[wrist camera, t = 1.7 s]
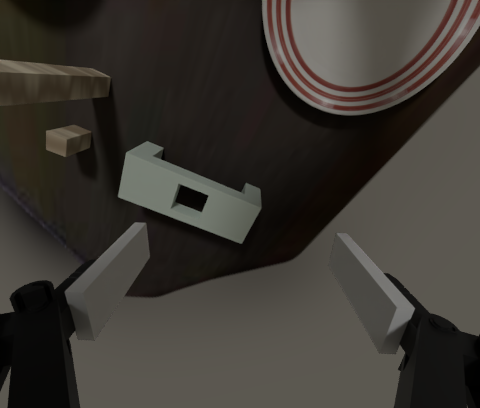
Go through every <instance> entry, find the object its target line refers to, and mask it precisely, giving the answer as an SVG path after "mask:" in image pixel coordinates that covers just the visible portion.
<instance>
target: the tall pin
mask: <svg viewBox="0 0 480 408" xmlns="http://www.w3.org/2000/svg"><path fill="white" fill-rule="evenodd" d="M110 81H111V77H109V76H107V75H105V74H103V73H101V72H98V71H96V70H94V69H92V68H82V67H71V66H61V65H50V64H40V63H29V62H19V61H9V60H0V106H6V105H17V104H29V103H40V102H52V101H64V100H75V99H87V98H98V97H108V96H109V89H110Z"/></svg>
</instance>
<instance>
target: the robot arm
mask: <svg viewBox="0 0 480 408" xmlns="http://www.w3.org/2000/svg"><path fill="white" fill-rule="evenodd" d="M149 258H150V255H149V245H148V235H147V226H146V223H134V224H133V225H132V226H131V227H130V228H129V229H128V230H127V231H126V232H125V233H124V234H123V235H122V236H121V237H120V238H119V239H118V240H117V241H116V242H115V243H114V244H113V245H112V246H111V247H110V248H109V249H107V250H106V251H105V252H104V253H103V254H102V255H101V256H100V257H99V258H98V259H97V260H90V261H88V262H86V263H84V264H82V265H81V266H80V267H79V268H78V269H77V270H76V271H75V272H74V273H73V274H71V275H70V276H69V278H67V279H66V280H65V281H64V282H63V283H61V284H60V285H59V286H58V287H57V288H56V289H55V290H54V287H53V284H52V283H51V282H50V281H47V280H45V281H36V282H32V283H29V284H27V285H24V286H22V287H21V288H19V289H17V290H16V291H15V292H14V293H12V295H11V297H10V301H11V303H12V306H13V309H14V311H15V312H10V313H4V314H0V391H1V388H2V386H3V384H4V381H5V379H6V377H7V374H8V372H9V370H10V367H11V375H10V386H9V398H8V408H80V404H79V397H78V391H77V384H76V377H75V371H74V364H73V358H72V352H71V344H70V341H69V338H70V336H71V335H72V333H73V332H74V331H76V335H77V339H78V340H94V341H95V339H96V338H97V336H98V335H99V333H100V332H101V330H102V329H103V327H104V326H105V324H106V323H107V321H108V320H109V318H110V317H111V314H112V313H113V312H114V311H115V309H116V307H117V306H118V304H119V303H120V301H121V300H122V298H123V297H124V295H125V294H126V292H127V291H128V289H129V288H130V286H131V285H132V283H133V282H134V280H135V279H136V277H137V276H138V274H139V273H140V271H141V270H142V268H143V267H144V265H145V264H146V262H147V261H148V259H149ZM329 268H330V270H331V271H332V273H333V274H334V276H335V278H336V280H337V281H338V283H339V285H340V287H341V288H342V290H343V292H344V293H345V295H346V297H347V299H348V300H349V302H350V304H351V306H352V307H353V309H354V311H355V312H356V314H357V316H358V318H359V319H360V321H361V323H362V324H363V326H364V328H365V330H366V331H367V333H368V335H369V336H370V338H371V340H372V342H373V343H374V345H375V347H376V348H377V350H378V352H379V353H382V354H383V353H384V354H396V352H397V350H398V347H399V345H401V347H402V348H403V350H404V351H405V355H404V357H403V359H402V362H401V364H400V366H399V368H398V370H400V371H401V372H400V378H399V383H398V389H397V394H396V399H395V405H394V408H467V406H468V408H480V335H479V336H475V335H471V334H468V333H465V332H461V331H459V330H458V328H457V327H456V326H455V325H454V324H452V323H451V322H450V321H448V320H446V319H445V318H443V317H441V316H438V315H435V314H430V313H429V312H428V311H427V310H426V309H425V308H424V307H423V306H422V305H421V304H420V303H419V302H418V301H417V299H416V298H415V297H414V296H413V295H412V294H410V292H409V291H408V290H407V289H406V288H404V286H403V285H402V284H401V283H400V282H399V281H398V280H397V279H396V278H394V277H393V276H391V275H390V274H388V273H383V272H382V271H381V270H380V269H379V268H378V267H377V266H376V265H375V264H374V263H373V261H371V259H370V258H369V257H368V256H367V255H366V254H365V253H364V252H363V250H362V249H361V248H360V247H359V246H358V245H357V244H356V243H355V242H354V241H353V239H352V238H351V237H350V236H349V235H348V234H347V233H336V235H335V239H334V244H333V248H332V253H331V257H330V261H329Z"/></svg>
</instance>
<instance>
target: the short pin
mask: <svg viewBox="0 0 480 408" xmlns="http://www.w3.org/2000/svg"><path fill="white" fill-rule="evenodd" d="M91 134H92V132H90V131H88V130H86V129H83V128H81V127H78V126H76V125H71V126H67V127H62V128H58V129H54V130H49V131H46V149H47V150H49V151H52V152H54V153H57V154H59V155H62V156H64V157H67V156H70V155H72V154H75V153H77V152H80V151H83V150H85V149H88V148H90V143H91Z"/></svg>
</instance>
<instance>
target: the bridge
mask: <svg viewBox="0 0 480 408" xmlns="http://www.w3.org/2000/svg"><path fill="white" fill-rule="evenodd" d="M163 149H164V148H162V147H160V146H158V145H155V144H153V143H150V142H148V141H147V142H145V143H143V144H141V145H139V146H138V147H136V148H134V149H132V150H130V151H128V152H126V157H125V162H124V168H123V173H122V178H121V183H120V189H119V194H118V197H119V198H122V199H125V200H127V201H130V202H133V203H135V204H138V205H140V206H143V207H146V208H148V209H151V210H154V211H156V212H159V213H162V214H164V215H167V216H169V217H172V218H175V219H177V220H180V221H183V222H185V223H188V224H190V225H193V226H196V227H198V228H201V229H204V230H206V231H209V232H212V233H214V234H217V235H219V236H222V237H225V238H227V239H230V240H233V241H235V242H238V243H240V244H242V242H243V241H244V239H245V237H246V235H247V233H248V232H249V230H250V228H251V226H252V224H253V222H254V221H255V219H256V217H257V215H258V213H259V212H260V210H261V192H260V189H259V188H257V187H255V186H252V185H250V184H247V183H246V184H245V186H244V188H243V190H242V192H238V191H236V190H234V189H231V188H229V187H226V186H224V185H221V184H219V183H217V182H214V181H212V180H209V179H207V178H205V177H202V176H200V175H197V174H195V173H193V172H190V171H188V170H185V169H183V168H180V167H178V166H176V165H173V164H171V163H168V162H166V161H164V160H161V157H162V153H163ZM181 185H184V186H186V187H189V188H191V189H194V190H196V191H199V192H201V193H204V194H206V195H209V196H208V199H207V201H206V204H205V206H204V209H203V211H202V212H199V211H197V210H194V209H192V208H189V207H187V206H184V205H181V204H179V203H176V202H175V201H176V198H177V195H178V192H179V189H180V186H181Z"/></svg>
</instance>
